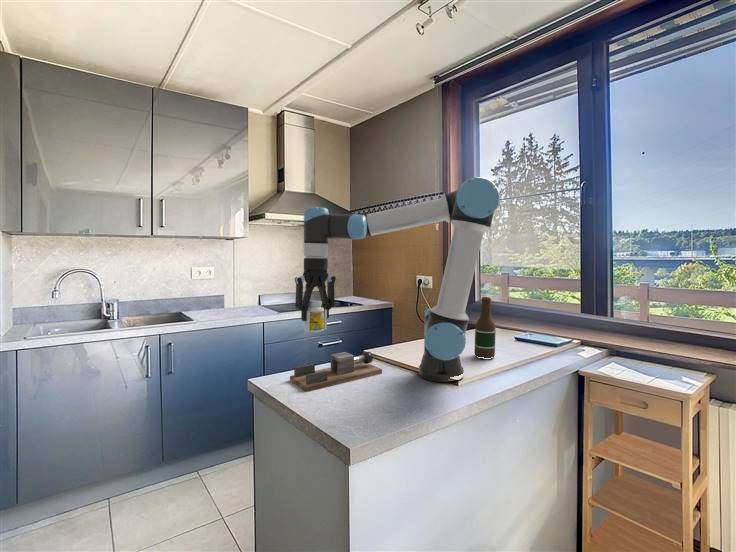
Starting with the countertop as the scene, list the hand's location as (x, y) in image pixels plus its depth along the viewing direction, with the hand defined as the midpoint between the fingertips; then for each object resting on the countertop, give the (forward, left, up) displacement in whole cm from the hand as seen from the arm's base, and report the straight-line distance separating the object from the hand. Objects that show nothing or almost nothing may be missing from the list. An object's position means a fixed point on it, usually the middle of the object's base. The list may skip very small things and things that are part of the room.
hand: (315, 329), depth 124 cm
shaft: (+1, -15, -15) cm, 22 cm away
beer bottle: (-13, -69, -18) cm, 72 cm away
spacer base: (+1, -9, -17) cm, 19 cm away
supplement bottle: (0, 0, -1) cm, 1 cm away
